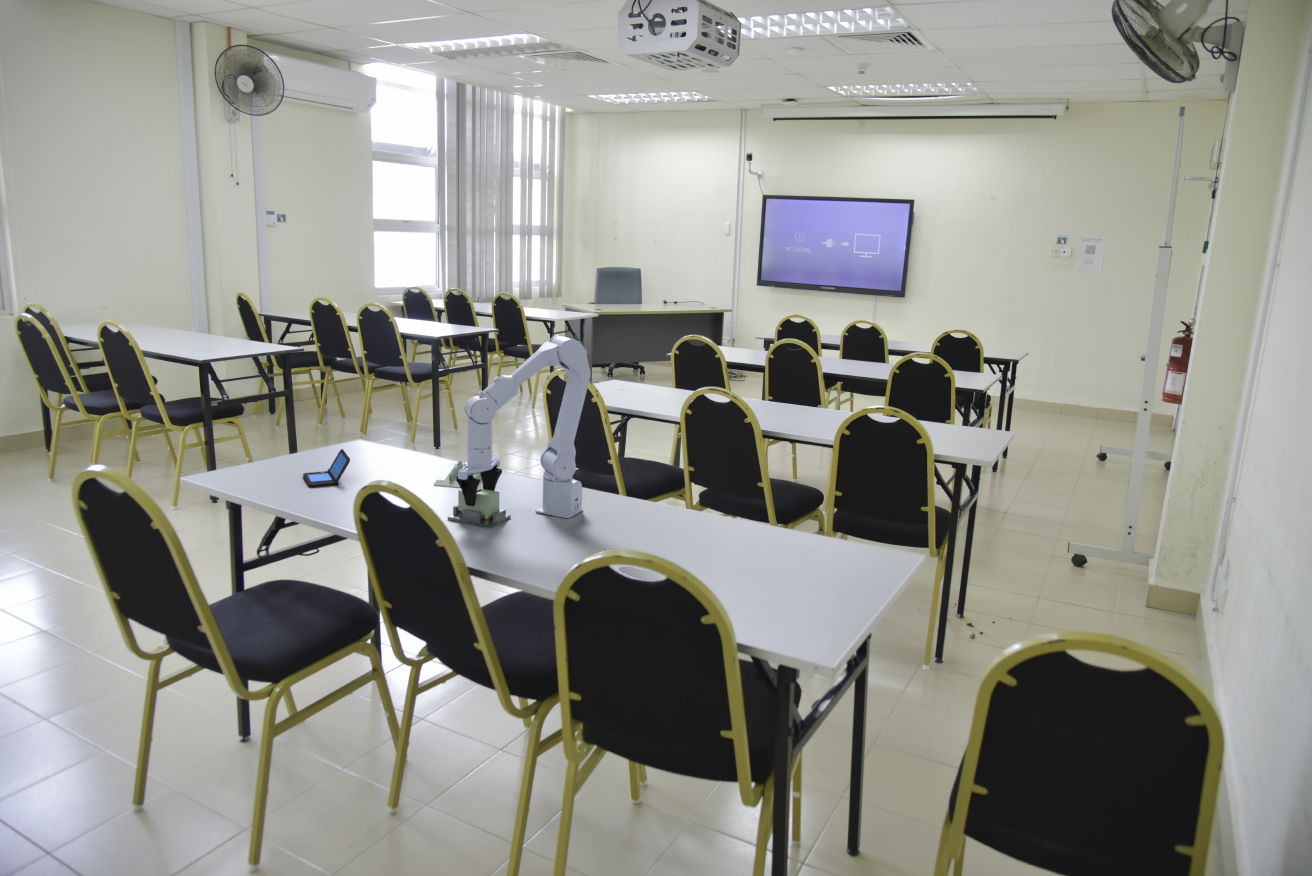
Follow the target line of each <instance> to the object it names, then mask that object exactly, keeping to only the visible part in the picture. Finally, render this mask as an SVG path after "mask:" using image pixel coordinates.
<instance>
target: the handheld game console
mask: <svg viewBox="0 0 1312 876" xmlns="http://www.w3.org/2000/svg"><path fill="white" fill-rule="evenodd" d="M350 462H351V458H350V457H349V456H348V454H347V453H346V451H345V450H344V449H343V448H341V449H340V450H339V451H338V453H337V455H336V456H335V458H334V460H333V462H332V464H331V466H329V468H327V470H324V471H314V472H313V471H312V472H305V473H303V474H302V477H303V479H304V481H305V483H306V485H307V486H308V488H312V489H313V488H326V487H327V488H328V487H334V486H336V487H338V486H339V481H340V479H341V478H342V476H343V474H344V473H345V470H346V469H347V467H348V466H349V464H350Z"/></svg>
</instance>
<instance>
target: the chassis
mask: <svg viewBox="0 0 1312 876" xmlns="http://www.w3.org/2000/svg"><path fill="white" fill-rule="evenodd" d="M452 510H453V511H452V514H451V515H448V516H447V520H448V521H452V522H457V523H461V524H465V525H466V524H467V525H472V526H477V527H481V528H486V529H487V528H488V529H491V528H493V527H495V526H497V525H499V524H502V523H504V522H506V521H507V520H510V519H511V517H512V515H511V514H507V509H504V508H502V509H499V511H498V512H496V513H494V514H493V515H491V516H487V515H482V513H481V512H476V511H471V510H466V509H463V510H462V511H461V510H458V503H457V504H455V505H453V507H452Z"/></svg>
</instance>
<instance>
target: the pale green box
mask: <svg viewBox="0 0 1312 876" xmlns="http://www.w3.org/2000/svg"><path fill="white" fill-rule="evenodd" d="M457 500H458V503H457V504H458V510H461V511H462V510H463V509H466V510H471V511H476V512H481V513H482V515H487V516H491V515H493V514H494V513H496V512H498V511H500V492H499V491H496V490H495V491H491V490H486V489H480V488H477V492H476V502H475V506H473V507H472V506H467V505H466V503H465V499H464V496H463V492H462V490H461V488H459V489H458V499H457Z"/></svg>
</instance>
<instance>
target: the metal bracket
mask: <svg viewBox="0 0 1312 876" xmlns="http://www.w3.org/2000/svg"><path fill="white" fill-rule="evenodd" d="M463 467H465V466H464V463H463V461H462V460H459V461H458V462H457V463H455V464H454V466H453V467H452V468H451V470H450V471H449V473H448V474H447V476H446V477H445V479H436V480H435V482H434V483H433V486H434V487H438V488H439V487H440V488H442V487H443V488H454V489H461V488H460V486H459V484H458V482H457V481H456V477H457V476H458V471H459V470H461V469H462V468H463ZM473 477H474V479H479V480H480V482H479V485H478V488H480V489H483V483H482V478H481V474H480V473H478V474H476V475H473Z"/></svg>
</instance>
